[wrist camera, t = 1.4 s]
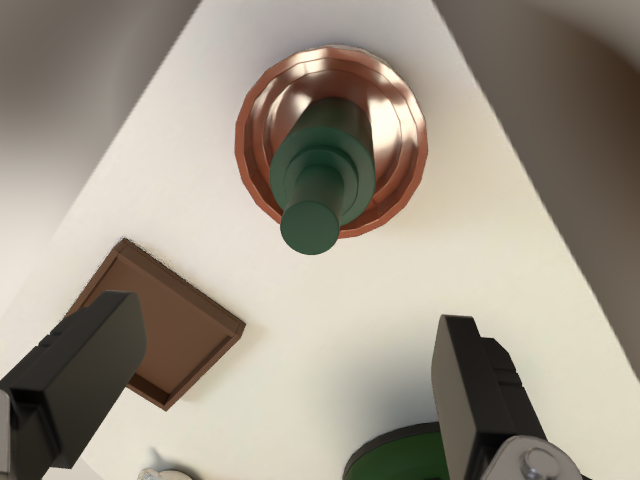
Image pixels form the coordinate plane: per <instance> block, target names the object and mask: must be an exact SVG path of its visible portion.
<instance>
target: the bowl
mask: <svg viewBox="0 0 640 480" xmlns="http://www.w3.org/2000/svg"><path fill="white" fill-rule="evenodd" d="M326 97H341V98H345V99H348V100H350V101H352V102H354V103H355V104H357V105H358V106H359V107H360V108H361V109H362V110H363V111H364V112H365V114H366V115H367V117H368V119H369V121H370V124H371V128H372V137H373V148H374V159H375V170H376V186H375V191H374V194H373V197H372V199H371V202H370V203H369V205H368V206H367V208H366V209H365V210H364V212H363V213H362V214H361V215H359V216H358V217H357V218H356V219H354V220H353V221H351V222H349V223H348V224H345V225H343V226H340V232H339V237H338V239H341V238H349V237H356V236H360V235H362V234H364V233H367V232H369V231H371V230H373V229H376V228H378V227H380V226H382V225H384V224H386V223H387V222H388V221H389V220H390V219H391V218H393V217H394V216H395V215H396V214H397V213H398V212H400V211H401V210H402V209H403V208H404V207H405V206H406V205H407V203H408V201H409V200H410V198H411V197H412V195H413V193H414V192H415V190H416V189H417V187H418V185H419V184H420V181H421V179H422V175H423V171H424V167H425V163H426V159H427V155H428V144H427V131H426V122H425V118H424V116H423V114H422V112H421V109H420V107H419V105H418V102H417V100H416V98H415V95H414V93H413V92H412V90H411V89H410V87H409V86H408V85H407V83H406V82H405V81H404V80H403V79H402V78H401V77H400V75H399V74H398V73H397V72H396V71H395V70H394V69H393V68H392V67H391V66H390V65H389V63H388V62H386V61H385V60H383V59H381V58H379V57H377V56H375V55H374V54H372V53H370V52H368V51H366V50H364V49H362V48H359V47H352V46H345V45H338V44H328V45H323V46H318V47H313V48H308V49H304V50H302V51H299V52H297V53H294V54H293V55H291V56H289V57H288V58H286V59H284V60H283V61H281V62H279V63H278V64H276V65H274V66H273V67H271V68H269V69H268V70H267V71H266V72H265V73H264V74H263V75H262V76H261V78H260V79H259V80H258V81H257V82H256V84H255V85H254V86H253V87H252V88H251V90H250V91H249V92H248V93H247V95H246V97H245V100H244V102H243V105H242V108H241V110H240V113H239V116H238V118H237V121H236V127H235V157H236V161H237V164H238V168H239V172H240V175H241V179H242V182H243V183H244V185H245V187H246V188H247V190H248V191H249V193H250V195H251V196H252V198H253V199H254V201H255V202H256V204H257V205H258V206H259V207H260V208H261V209H262V210H263V211H264V212H266V213H267V214H268V215H269V216H270V217H271V218H272V219H274V220H275V221H276V222H277V223H278V224H280V222H281V218H282V216H283V213H284V211H283V210H282V209H281V208H280V206H279V205H278V203H277V202H276V200H275V198H274V196H273V193H272V190H271V186H270V178H269V176H270V166H271V162H272V159H273V157H274V155H275V153H276V151H277V149H278V148H279V146H280V145H281V143H282V142H283V141H284V139H285V138H286V136H287V135H288V133H289V132H290V130H291V129H292V127H293V126H294V124H295V123H296V121H297V120H298V119H299V117H300V116H301V114H302V113H303V111H304V110H305V109H306V108H307V107H308V106H309V105H310V104H312V103H313V102H315V101H317V100H319V99H322V98H326Z"/></svg>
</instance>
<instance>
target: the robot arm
mask: <svg viewBox="0 0 640 480" xmlns="http://www.w3.org/2000/svg"><path fill="white" fill-rule="evenodd" d="M146 349H147V334H146V329H145V324H144V319H143V314H142V308H141V303H140V299H139V296H138V294H137V293H136V292H130V291H116V290H105V291H103V292H102V293H101V294H100V295H99V296H98V297H97V298H96V299H95V300H94V301H93V302H92V303H91V304H90V305H89V306H88V307H83V308H81V309H79V310H78V311H76V312H74V313H73V314H71V315H69V316H67V317H66V318H64V319H63V320H62V321H61V322H60V323H59V324H58V325H57V326H56V327H55V328H54V329H53V330H52V331H51V332H50V335H47V336H46V337H45V338H43V339H42V340H41V341H40V342H39V345H38V346H35V347H34V348H33V349H32V350H31V351H30V352H29V353H28V354H27V355H26V356H25V357H24V358H23V359H22V360H21V361H20V362H19V363H18V364H17V365H16V366H15V367H14V368H13V369H12V370H11V371H10V372H9V373H8V374H7V375H6V376H5V377H4V378H3V379H2V380H1V381H0V480H42V477H43V476H44V475H45V473H46V472H47V470H48V469H49V467H57V468H66V469H71V468H72V467H73V466H74V464H75V462H76V461H77V460H78V458H79V457H80V455H81V454H82V452H83V450H84V449H85V447H86V446H87V444H88V443H89V441H90V440H91V438H92V437H93V435H94V434H95V432H96V431H97V429H98V428H99V426H100V425H101V423H102V422H103V420H104V419H105V417H106V416H107V414H108V413H109V411H110V409H111V408H112V406H113V405H114V403H115V402H116V400H117V399H118V397H119V396H120V394H121V393H122V391H123V390H124V388H125V387H126V385H127V384H128V382H129V381H130V379H131V378H132V376H133V375H134V373H135V372H136V370H137V369H138V367H139V365H140V364H141V362H142V361H143V359H144V356H145V353H146ZM431 380H432V388H433V393H434V398H435V403H436V408H437V414H438V419H439V424H440V429H441V434H442V440H443V445H444V450H445V455H446V460H447V466H448V471H449V476H450V480H592V479H590V478H588V477H586V476H584V475H582V474H581V473H580V471H579V469H578V468H577V466H576V464H575V463H574V462H573V461H572V459H571V458H570V457H569V456H568V455H567V454H566V453H565V452H563V451H562V450H561V449H559V448H558V447H557V446H555V445H553V444H552V443H550V442H548V440H547V438H546V436H545V433H544V431H543V429H542V427H541V424H540V422H539V420H538V418H537V415H536V413H535V411H534V409H533V406H532V404H531V402H530V400H529V398H528V395H527V393H526V391H525V389H524V387H522V382H521V380H520V377H519V375H518V373H516V368H515V366H514V364H513V362H512V359H511V357H510V355H509V353H508V352H507V351H506V350H505V349H504V348H503V347H502V346H501V345H500V344H499V343H498V342H497V341H496V340H495V339H494V338H484V337H480V334H479V331H478V329H477V326H476V323H475V321H474V319H473V317H472V316H458V315H443V314H442V315H441V317H440V320H439V325H438V330H437V336H436V341H435V347H434V353H433V358H432V366H431Z"/></svg>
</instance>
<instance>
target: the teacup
mask: <svg viewBox="0 0 640 480" xmlns="http://www.w3.org/2000/svg"><path fill="white" fill-rule="evenodd" d="M146 473H148V474H149V475H150V476H151V477H150V478H148V479H147V480H192V479H191V478H190V477H189V476H188V475H186V474H184V473H182V472H179V471H173V470H170V471H162V472H159V473H158V472H157V471H155V470H152V469H144V470H142V471H141V472H140V474H139V475H138V478H137V480H143V477H144V475H145V474H146Z"/></svg>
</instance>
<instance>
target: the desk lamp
mask: <svg viewBox="0 0 640 480" xmlns="http://www.w3.org/2000/svg"><path fill="white" fill-rule="evenodd" d="M343 480H450V476H449V471H448V466H447V460H446V455H445V450H444V445H443V440H442V434H441V429H440V424H439V422H437V423H427V424H419V425H415V426H410V427H406V428H401V429H398V430H395V431H392V432H390V433H387V434H384V435H382V436H379V437H377V438H376V439H374V440H372V441H370V442H369V443H367V444H365V445H364V446H363V447H361V448H360V449H359V450H358V451H357V452H356V453H355V454H354V455H353V456H352V457H351V459H350V461H349V462H348V464H347V466H346V467H345V471H344V475H343Z"/></svg>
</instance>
